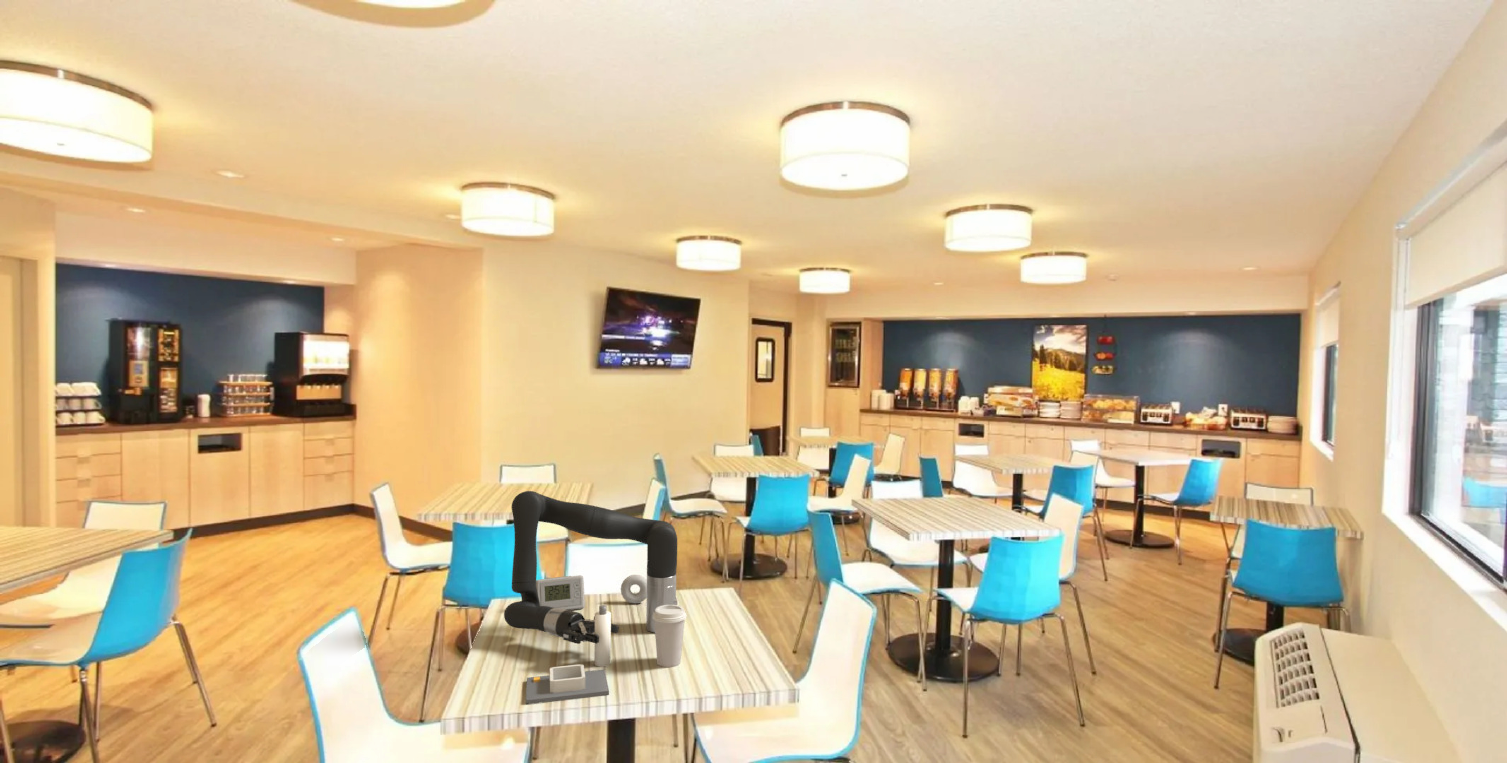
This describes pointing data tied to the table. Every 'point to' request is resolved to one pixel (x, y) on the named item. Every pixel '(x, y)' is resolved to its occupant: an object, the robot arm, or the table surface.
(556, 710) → the table surface
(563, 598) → the digital thermostat
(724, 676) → the table surface
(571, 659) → the table surface
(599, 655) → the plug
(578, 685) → the floor socket
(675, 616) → the coffee cup
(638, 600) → the donut
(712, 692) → the table surface
